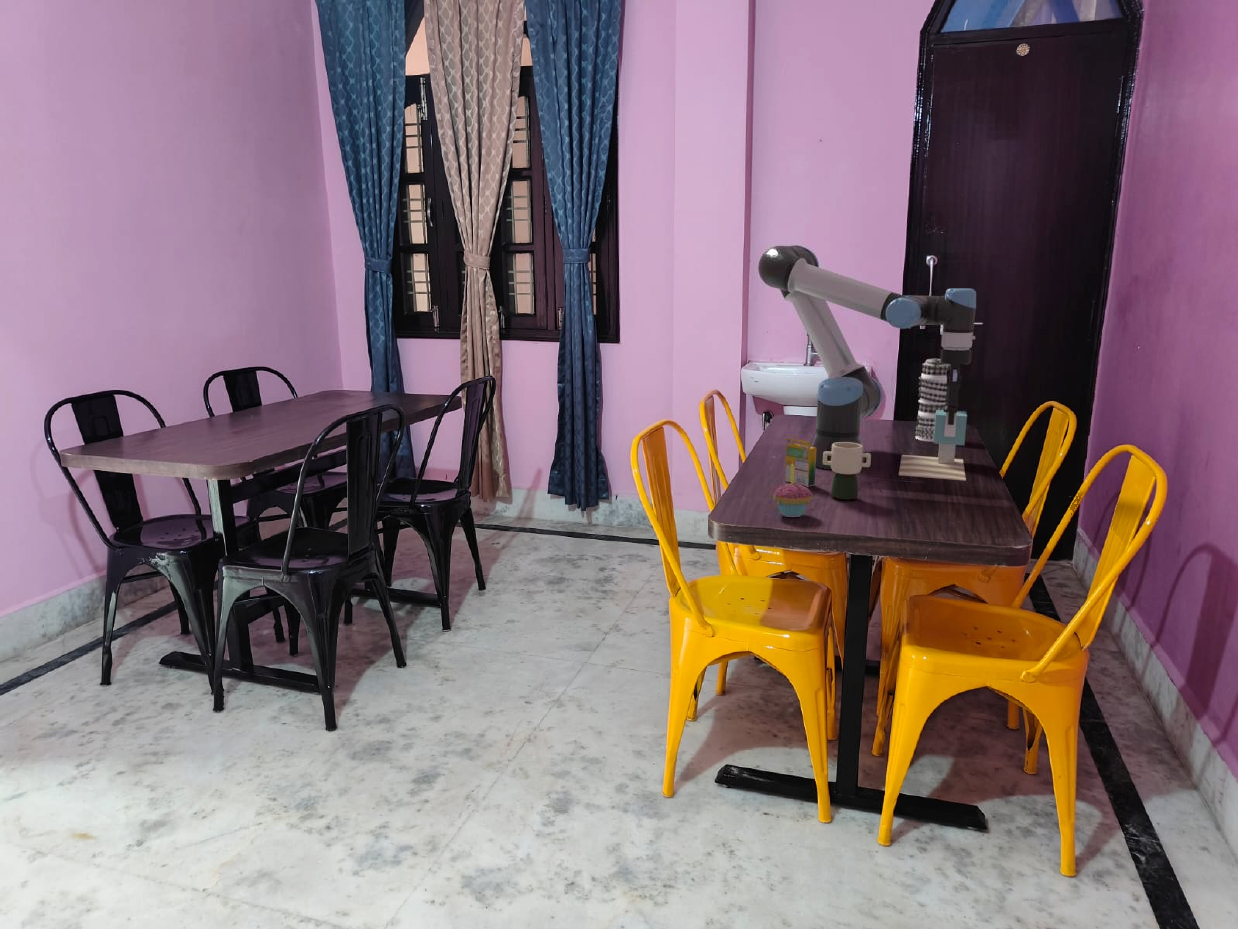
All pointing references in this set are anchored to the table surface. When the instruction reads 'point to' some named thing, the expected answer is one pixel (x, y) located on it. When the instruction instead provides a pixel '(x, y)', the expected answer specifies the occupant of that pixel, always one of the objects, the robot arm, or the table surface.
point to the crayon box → (800, 462)
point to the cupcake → (792, 497)
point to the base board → (931, 468)
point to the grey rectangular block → (946, 453)
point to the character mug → (846, 468)
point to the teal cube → (940, 428)
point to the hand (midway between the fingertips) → (949, 433)
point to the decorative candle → (931, 397)
